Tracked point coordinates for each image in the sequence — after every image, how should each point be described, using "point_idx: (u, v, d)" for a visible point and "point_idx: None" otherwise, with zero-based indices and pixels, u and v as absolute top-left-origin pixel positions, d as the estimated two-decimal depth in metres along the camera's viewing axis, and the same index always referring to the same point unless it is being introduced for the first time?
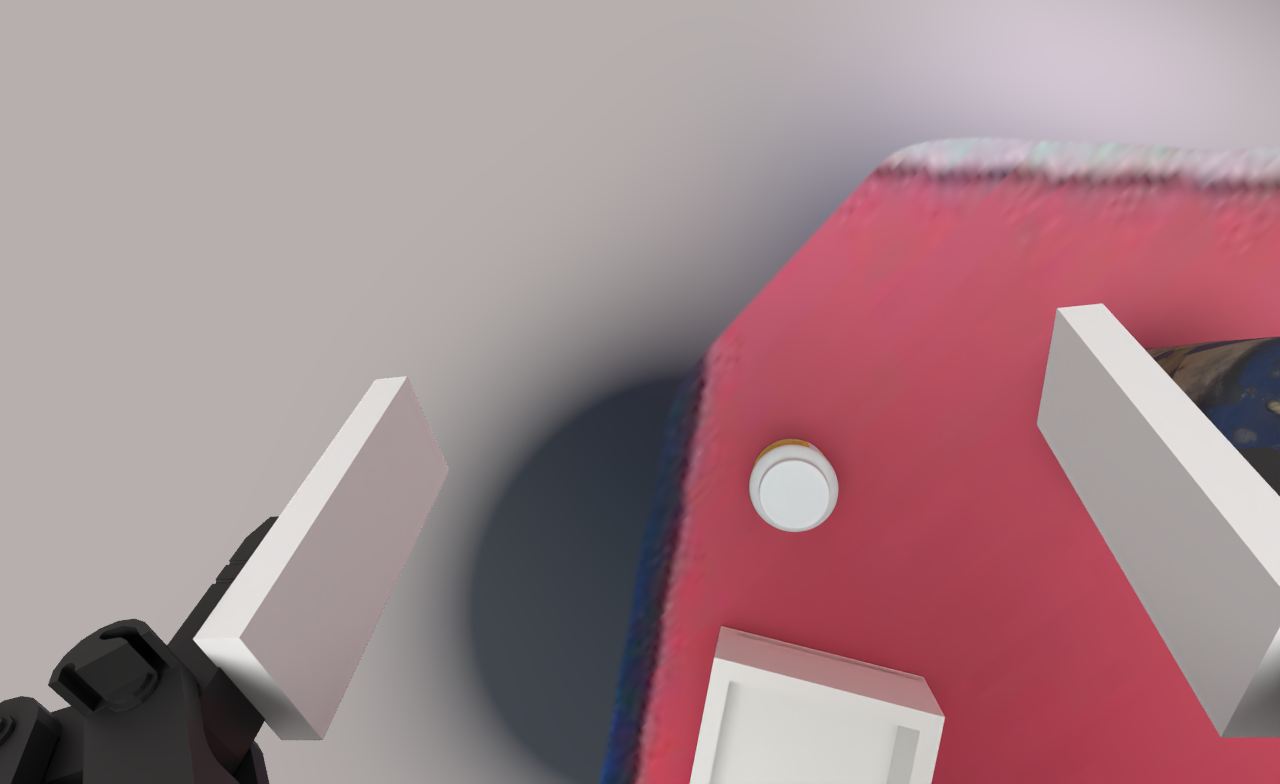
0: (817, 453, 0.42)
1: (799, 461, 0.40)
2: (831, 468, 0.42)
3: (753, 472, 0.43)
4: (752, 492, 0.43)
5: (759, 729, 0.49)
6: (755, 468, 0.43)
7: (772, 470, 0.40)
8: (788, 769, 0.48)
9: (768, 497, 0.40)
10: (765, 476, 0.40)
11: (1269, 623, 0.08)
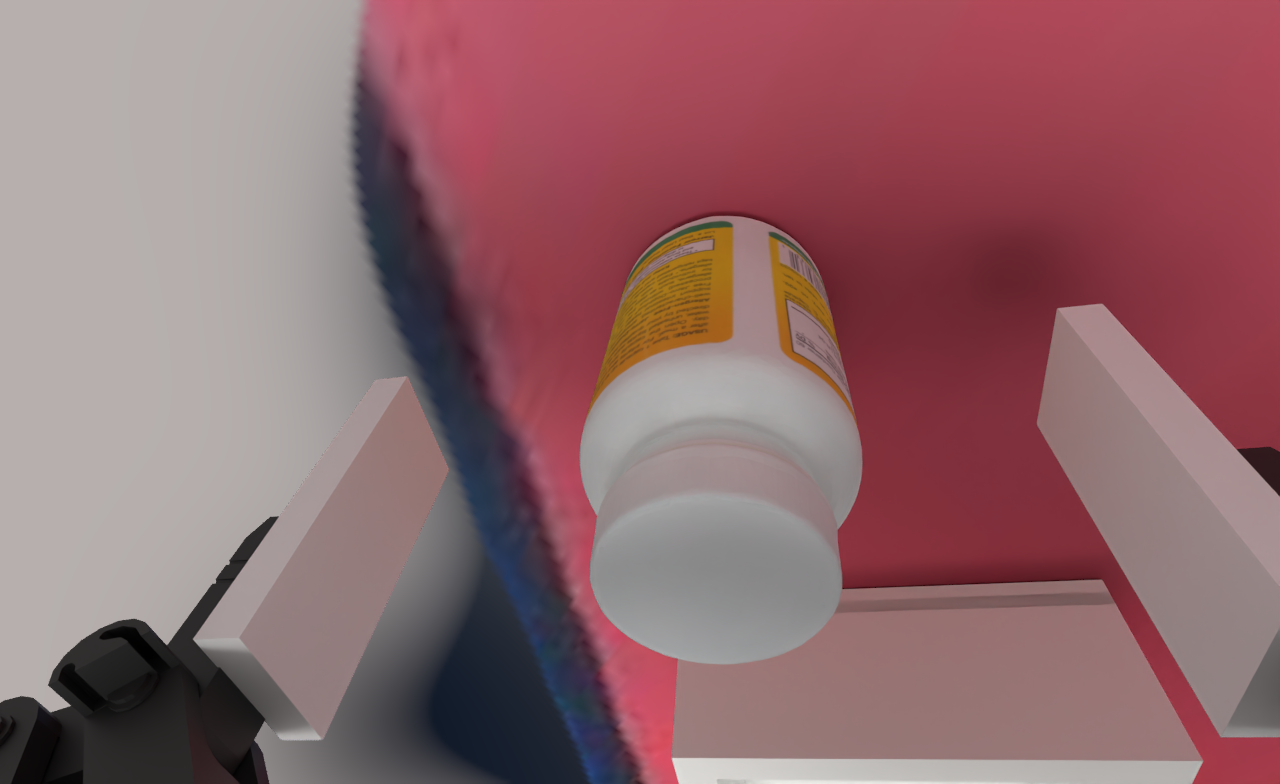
0: (759, 365, 0.12)
1: (691, 498, 0.10)
2: (820, 397, 0.12)
3: (581, 469, 0.13)
4: None
5: None
6: (582, 458, 0.13)
7: (609, 542, 0.11)
8: None
9: (632, 611, 0.12)
10: (594, 562, 0.11)
11: (1269, 623, 0.08)
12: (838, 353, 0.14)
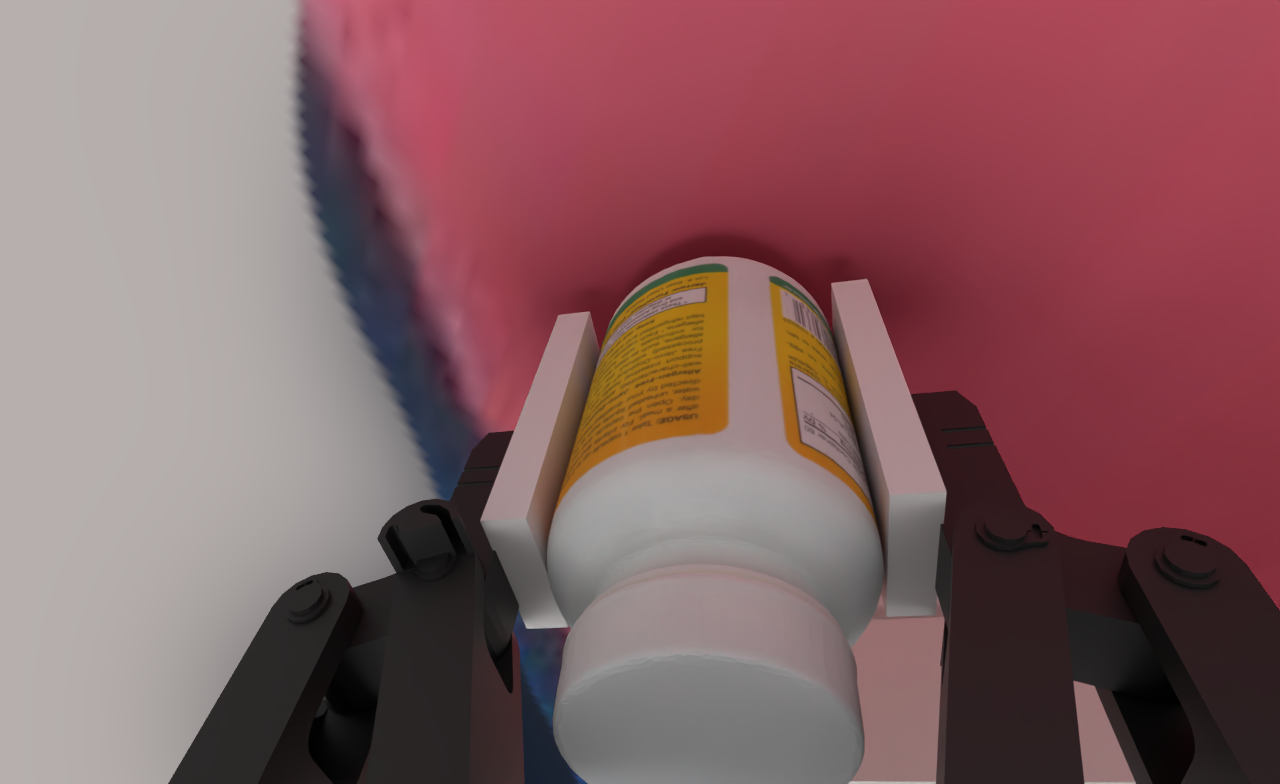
0: (760, 464, 0.10)
1: (675, 656, 0.08)
2: (835, 502, 0.10)
3: (548, 574, 0.11)
4: None
5: None
6: (548, 563, 0.11)
7: (575, 698, 0.09)
8: None
9: (606, 768, 0.09)
10: (557, 718, 0.09)
11: (887, 515, 0.10)
12: (852, 428, 0.12)
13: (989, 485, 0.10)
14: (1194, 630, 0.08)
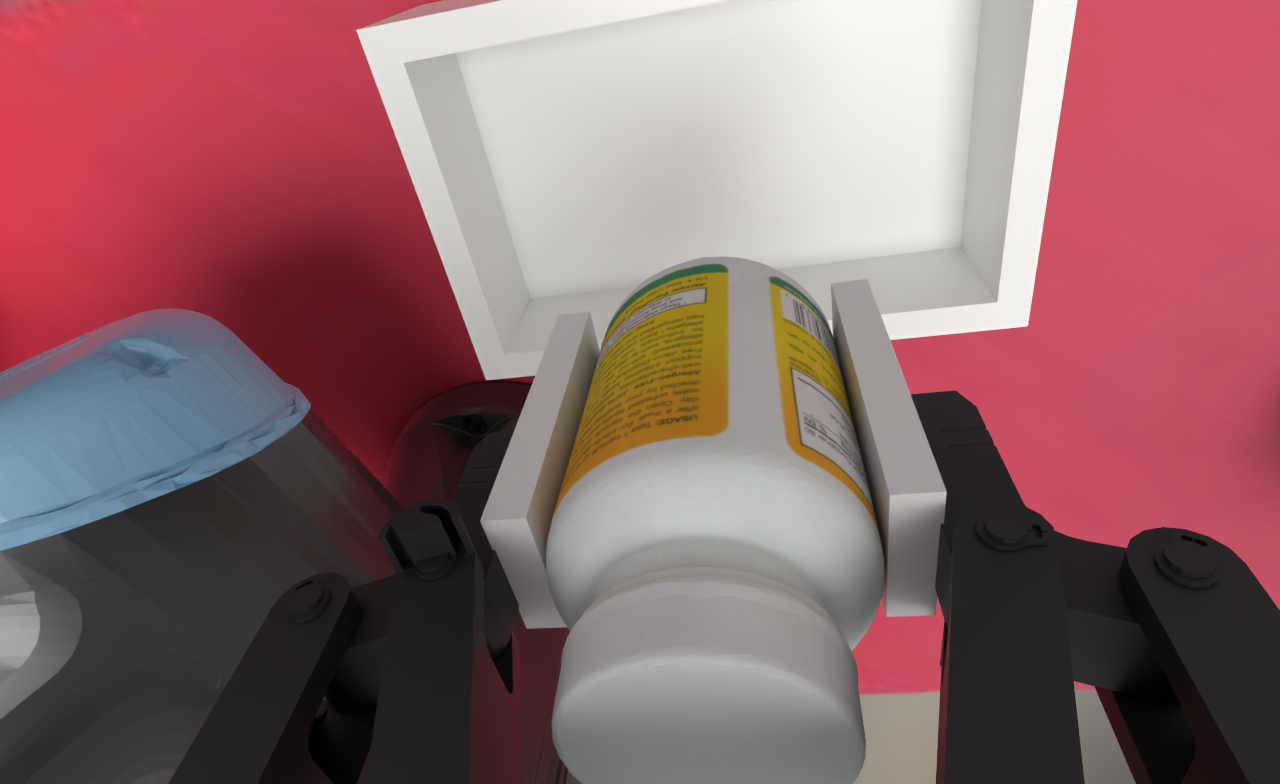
0: (760, 466, 0.10)
1: (674, 660, 0.08)
2: (836, 504, 0.10)
3: (547, 576, 0.11)
4: None
5: (840, 44, 0.26)
6: (547, 565, 0.11)
7: (573, 701, 0.09)
8: (784, 120, 0.28)
9: (605, 772, 0.09)
10: (556, 722, 0.09)
11: (887, 515, 0.10)
12: (852, 429, 0.12)
13: (989, 485, 0.10)
14: (1194, 630, 0.08)
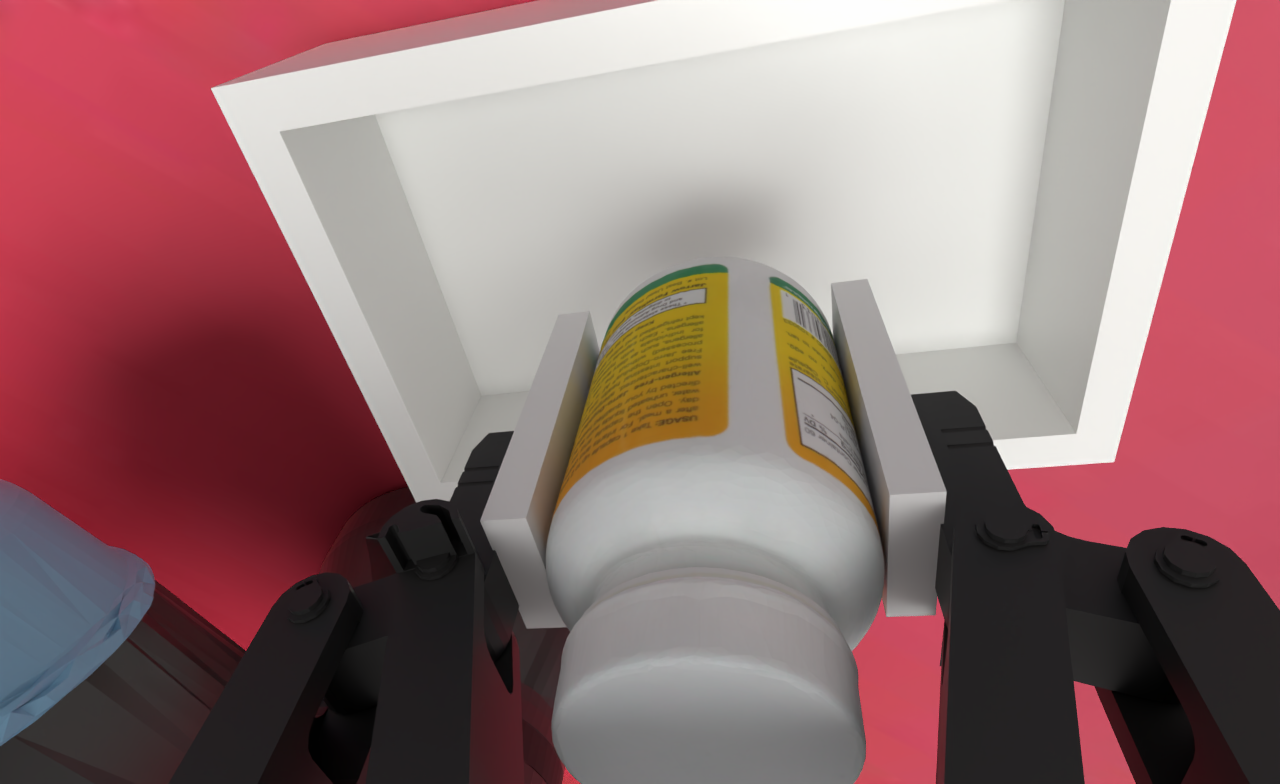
0: (761, 467, 0.09)
1: (674, 661, 0.08)
2: (836, 505, 0.10)
3: (547, 577, 0.11)
4: None
5: (870, 97, 0.20)
6: (547, 565, 0.11)
7: (573, 703, 0.09)
8: (796, 191, 0.22)
9: (604, 772, 0.09)
10: (556, 723, 0.09)
11: (887, 515, 0.10)
12: (853, 430, 0.12)
13: (989, 485, 0.10)
14: (1194, 630, 0.08)
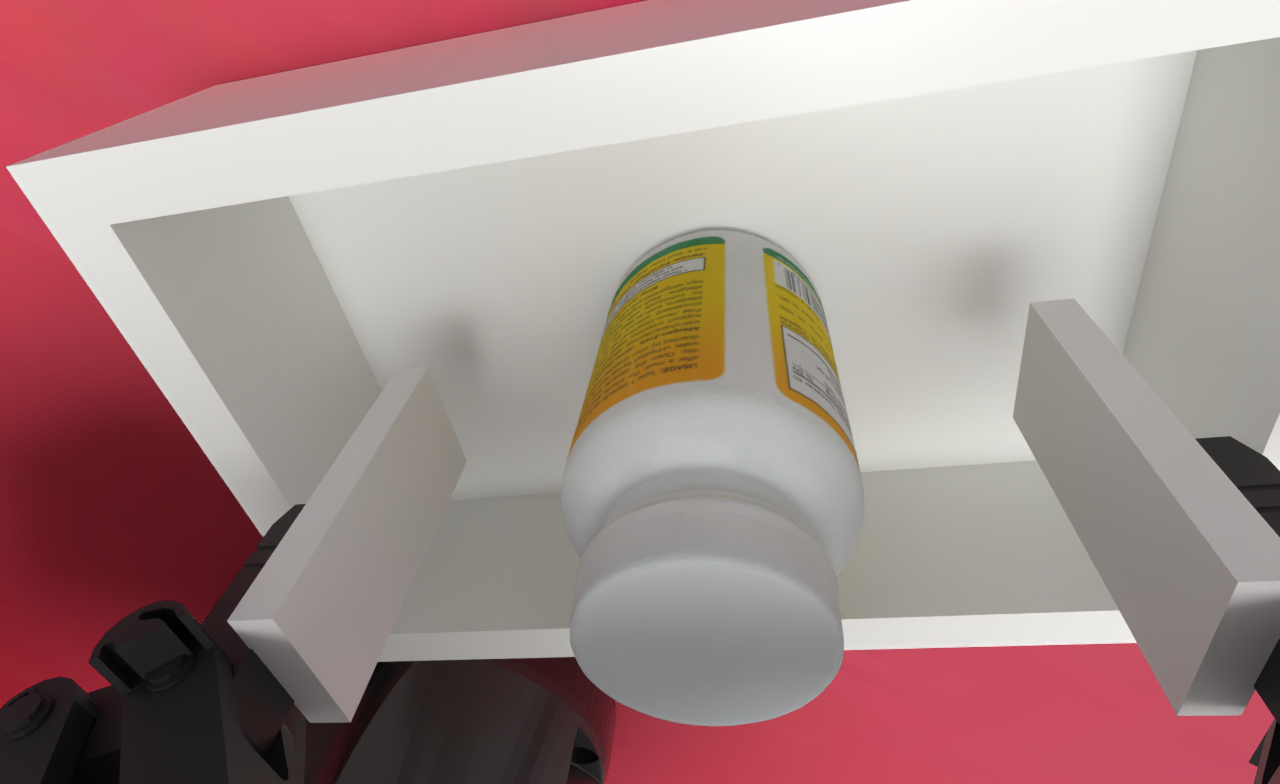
0: (753, 405, 0.11)
1: (678, 563, 0.09)
2: (820, 440, 0.11)
3: (562, 511, 0.12)
4: None
5: (926, 161, 0.15)
6: (563, 501, 0.12)
7: (590, 605, 0.10)
8: (824, 276, 0.17)
9: (616, 673, 0.11)
10: (574, 625, 0.10)
11: (1217, 603, 0.08)
12: (838, 382, 0.13)
13: None
14: None
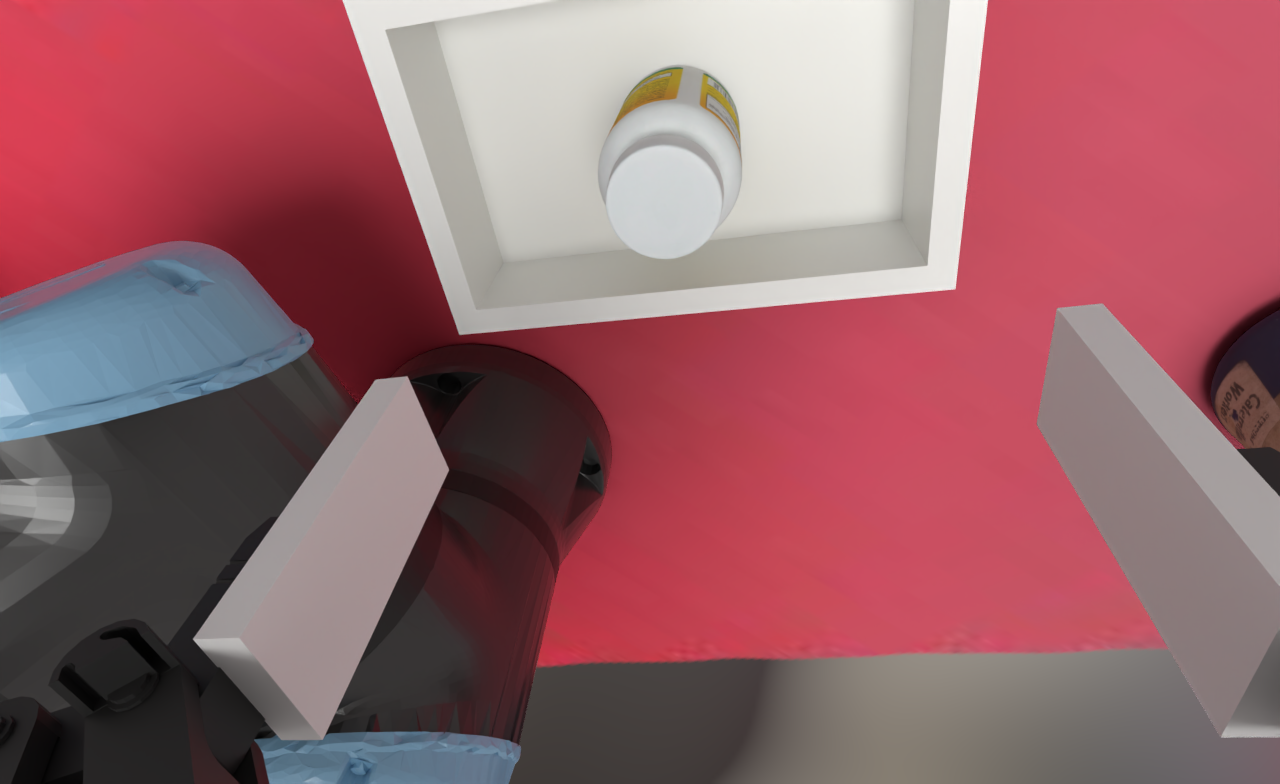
0: (688, 107, 0.24)
1: (652, 147, 0.23)
2: (717, 125, 0.24)
3: (599, 175, 0.26)
4: None
5: (789, 27, 0.29)
6: (599, 167, 0.26)
7: (615, 177, 0.23)
8: (739, 97, 0.30)
9: (625, 222, 0.24)
10: (608, 191, 0.23)
11: (1269, 623, 0.08)
12: (735, 126, 0.27)
13: None
14: None
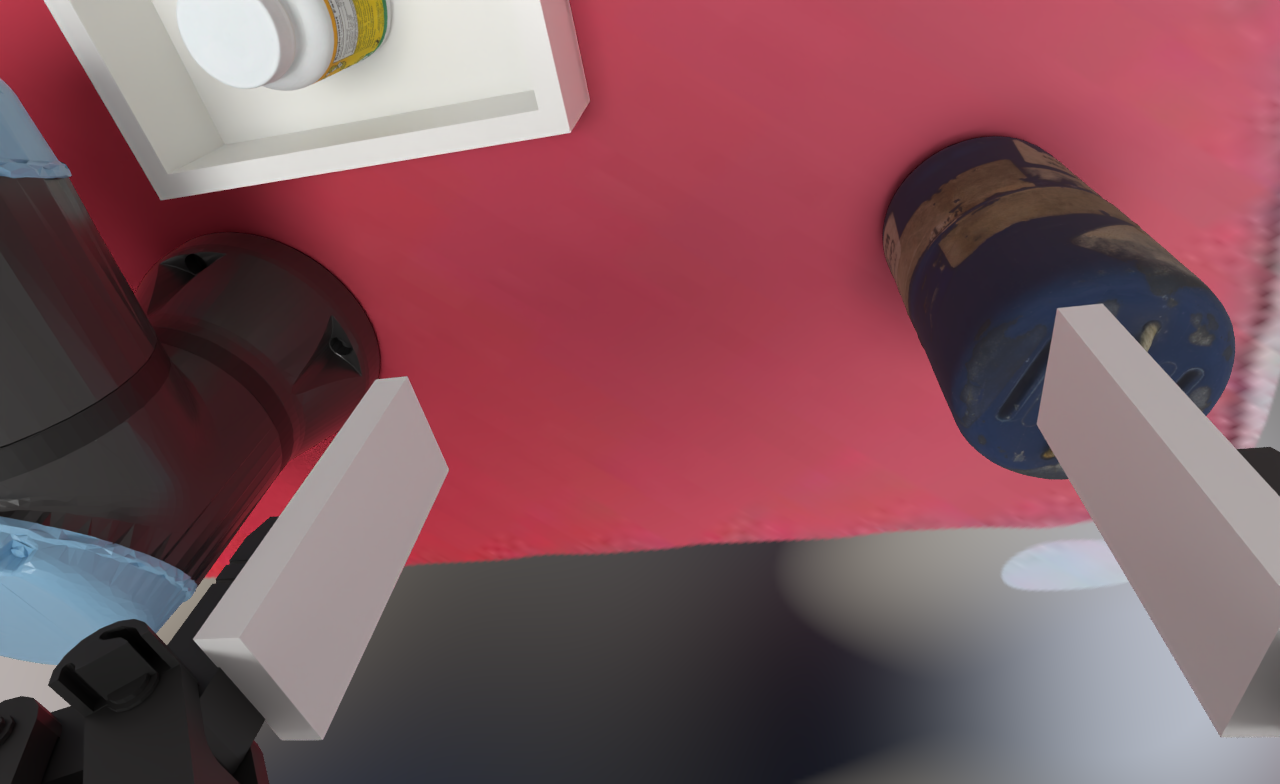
0: None
1: None
2: None
3: None
4: None
5: None
6: None
7: (179, 8, 0.26)
8: None
9: (202, 52, 0.27)
10: (178, 22, 0.27)
11: (1269, 623, 0.08)
12: None
13: None
14: None
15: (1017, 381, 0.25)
